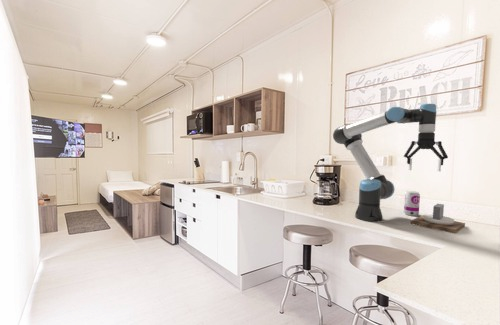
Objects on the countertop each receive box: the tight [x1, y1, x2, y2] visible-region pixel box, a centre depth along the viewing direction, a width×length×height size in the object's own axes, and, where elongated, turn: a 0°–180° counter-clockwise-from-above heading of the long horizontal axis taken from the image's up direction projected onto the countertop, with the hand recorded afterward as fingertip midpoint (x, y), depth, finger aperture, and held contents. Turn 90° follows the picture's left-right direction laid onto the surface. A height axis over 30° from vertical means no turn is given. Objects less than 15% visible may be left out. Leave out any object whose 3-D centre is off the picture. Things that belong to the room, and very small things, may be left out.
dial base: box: [410, 215, 466, 234], centre depth 141 cm, size 20×20×2 cm
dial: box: [422, 203, 455, 225], centre depth 141 cm, size 14×14×9 cm
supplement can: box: [403, 190, 421, 217], centre depth 164 cm, size 8×8×15 cm
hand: (424, 170), depth 140 cm, fingers open, 13 cm apart
